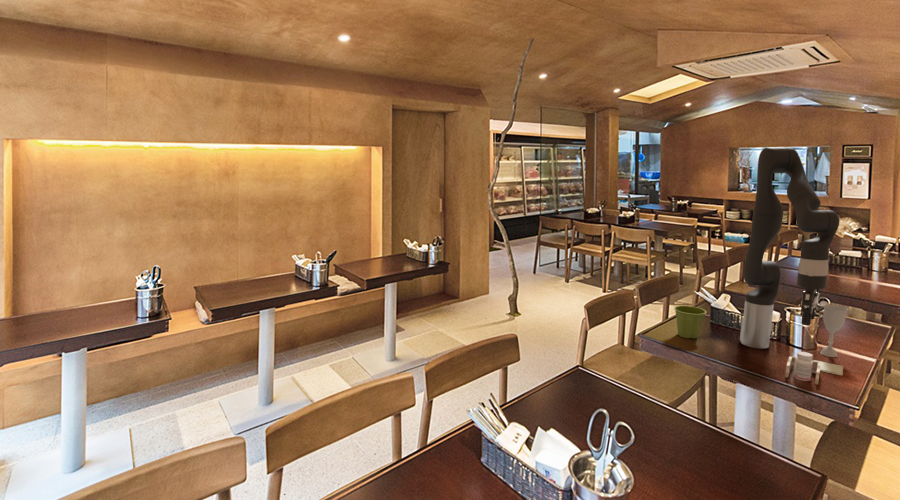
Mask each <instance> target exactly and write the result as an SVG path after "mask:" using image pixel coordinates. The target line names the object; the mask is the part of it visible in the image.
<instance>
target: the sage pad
mask: <svg viewBox="0 0 900 500" xmlns="http://www.w3.org/2000/svg"><path fill="white" fill-rule="evenodd" d="M813 361H817V362H821V367H820V372H823V373H828V374H832V375H833V374H834V375H838V376H842V377H843V372H844V366H843V365H839V364H834V363H831V362H830V363H829V362H825V361H820V360H815V359H813Z"/></svg>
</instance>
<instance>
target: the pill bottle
mask: <svg viewBox="0 0 900 500" xmlns="http://www.w3.org/2000/svg"><path fill="white" fill-rule="evenodd" d="M813 356H814V355H813V354H812V353H809V352H806V351H798V352H797V354H796V357H797V358H796V359H795V364H794V369H793V373H792V377H793V378H794V379H796V380H798V381H799V380H800V381H804V382H810V381H812V374H813V373H812V368H813V361H814V360H813Z"/></svg>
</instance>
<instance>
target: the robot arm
mask: <svg viewBox="0 0 900 500" xmlns="http://www.w3.org/2000/svg"><path fill="white" fill-rule="evenodd" d="M758 156H759V157H758V159H757V173H756V174H757V175H756V176H757V177H756V192H755V200H754V206H753V214H752V219H751V231H750V237H749V242H748V248H747V251H746V255H745V260H744V262H743V263H744V264H743V267H742V277H743V281H744V282H745V283H746V284H747V285H749V286H757V287H755V288H754V289H753V290H751V291H747V293H746V294H745V297H744V298H745V299H744V307H743V308H744V309H743V310H744V311H743V317H742V318H741V324H740V325H741V326H740V333H739V334H740V336H739V341H740V343H741V344H742V345H744V346H745V347H749V348H752V349H753V348H754V349H759V350H760V349H762V350H763V349H768V348H769V347H770V338H771V330H772V323H773V314H774V305H775V300H776V299H777V296H778V292H779V287H780V282H781V268H780V265H779V264H778V263H777V262H775V261H773V260H764V256H765V252H766V250H767V248H768V247H769V245H770V244H771V243H772V242H773V241H774V239H775V238H776V237H777V235H778V234H779V232H780V231H781V229H782V225H783V218H784V207H783V205H782V203H781V201H780V198H779V197H778V195H777V194H776V192H775V189H774V187H773V174H787V176H788V177H789V178H790V180H789V183H788V185H787V189H786V195H787V198H788V200H789V202H790V204H791V205H792V207H793V209H794V214H795V221H796V226H797V228H798V229H799V230H800V231H802V232H804V233H817V234H816V236H815V237H814V238H811V239H809V238H808V239H806V240H803V241H802V243H801V249H800V257H799V258H800V259H799V261H798V262H799V263H798V271H797V279H796V280H797V281H796V285H797V287H800V288H804V289H805V290H804V291H803V292H801V302H800V304H801V309H800V312H801V313H802V314H801V325H804V326H810V325H811V322H812V320H814V319H815V317H816V308H817V305H818V302H819V298H820V293H819V291H820V290H824V289H826V288H827V287H828V285H827V283H828V277H829V275H828V274H829V254H830V247H831V245H832V243H833V240H834V238H835V236H836V234H837V231H838V229H839V227H840V218H839V215H838V213H837V212H836V211H834V210H831V209H827V210H826V209H819V208H820V207H821V200H820V198H819V197H818V195H817V194H816V192H815V190H814V189H813V187H812V185H811V183H810V182H809V179H808V177H807V175H806V171H805V169H804V166H803V162H802V160H801V157H800V155H799V153H798V151H797V150H796V149H795V148H793V147H787V146H785V147H784V146H777V147H776V146H775V147H771V146H770V147H763V148H762V149H761V151H760V153H759V155H758Z"/></svg>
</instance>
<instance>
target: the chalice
mask: <svg viewBox="0 0 900 500" xmlns="http://www.w3.org/2000/svg"><path fill="white" fill-rule="evenodd" d="M822 307H823V314H822V316H823V317H822V320H823V323H824V327H825V329H826V330H827V331H828V332H829V336H828V338H829V339H828V340H827V343H828V345H827V346H825V347H823V348H822V349H821V351H820V352H819V353H820V354H821V355H823V356H825V357H829V358H838V354H837V350H836V349H835V348H834V347H833V344H835V343H834V338H835V337H834V334H835V333H837V332H839V330H840V329H841V328H842V327H843V326H844V324H845V322H846V315H847V313H848V311H849V310H850V309H849V308H848V307H845V306H841V305H836V304H823V305H822Z"/></svg>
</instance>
